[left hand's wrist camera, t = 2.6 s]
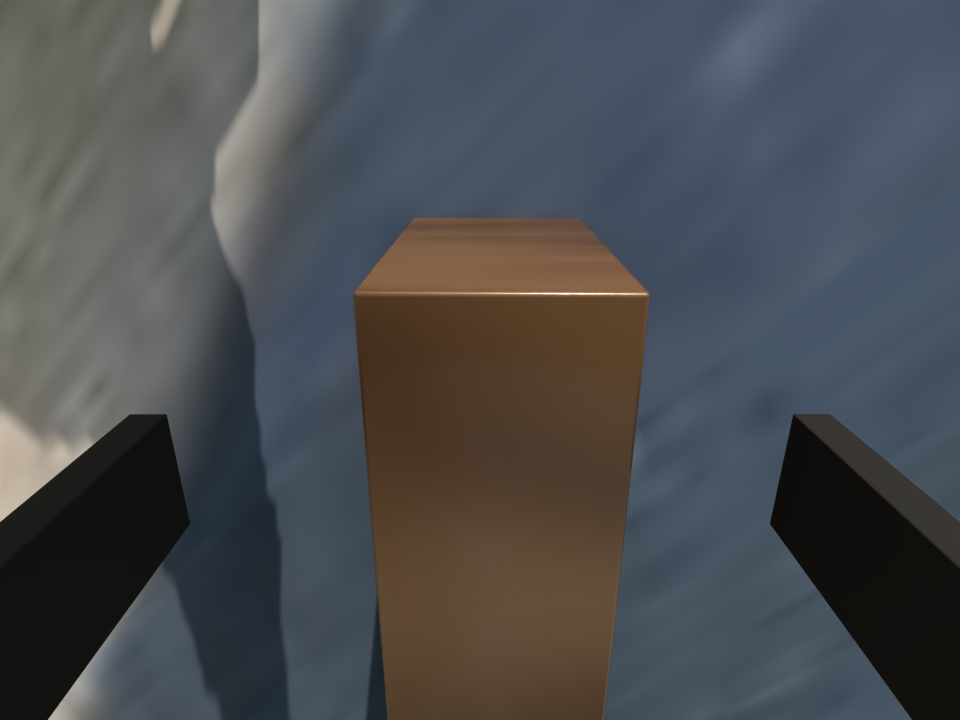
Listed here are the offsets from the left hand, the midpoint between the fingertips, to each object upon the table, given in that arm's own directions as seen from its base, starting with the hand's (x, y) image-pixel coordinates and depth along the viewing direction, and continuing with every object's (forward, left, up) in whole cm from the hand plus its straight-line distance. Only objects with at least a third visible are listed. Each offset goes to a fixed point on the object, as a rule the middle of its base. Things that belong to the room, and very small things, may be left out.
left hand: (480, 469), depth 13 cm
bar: (+15, +17, -7) cm, 24 cm away
